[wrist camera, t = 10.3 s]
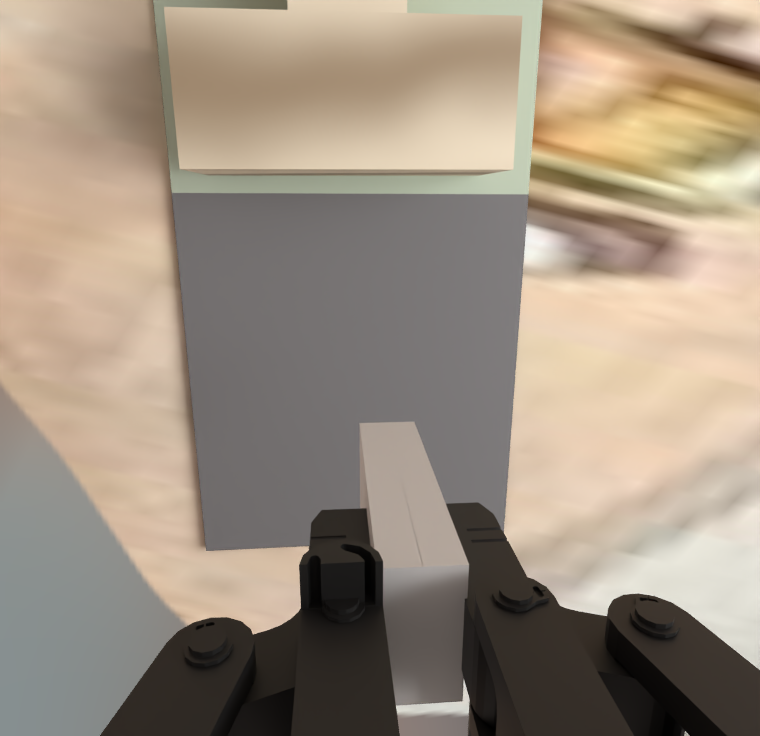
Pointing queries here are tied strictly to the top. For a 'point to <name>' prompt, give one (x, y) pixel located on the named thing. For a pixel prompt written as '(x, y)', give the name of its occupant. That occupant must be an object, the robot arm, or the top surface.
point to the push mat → (348, 319)
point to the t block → (343, 90)
